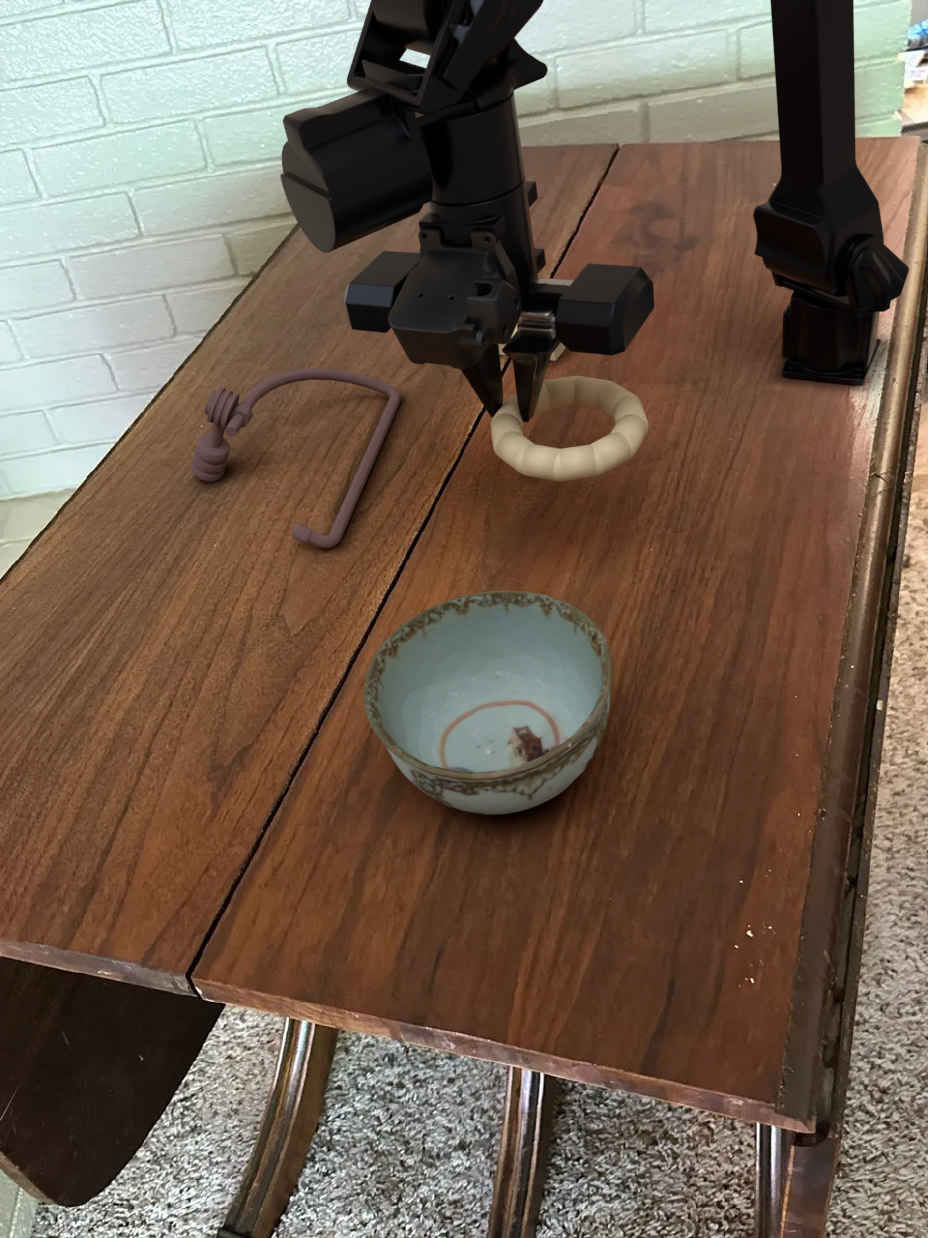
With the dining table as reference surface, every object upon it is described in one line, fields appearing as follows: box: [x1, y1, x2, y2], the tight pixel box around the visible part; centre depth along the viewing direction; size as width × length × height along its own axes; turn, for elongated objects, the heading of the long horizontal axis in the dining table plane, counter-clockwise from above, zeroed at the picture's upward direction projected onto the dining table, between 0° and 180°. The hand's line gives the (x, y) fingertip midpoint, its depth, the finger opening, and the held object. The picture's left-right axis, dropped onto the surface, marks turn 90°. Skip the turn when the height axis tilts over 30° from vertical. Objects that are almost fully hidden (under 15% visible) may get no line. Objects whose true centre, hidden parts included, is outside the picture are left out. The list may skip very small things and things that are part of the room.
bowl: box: [362, 590, 613, 815], centre depth 60 cm, size 14×13×8 cm
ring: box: [490, 375, 650, 482], centre depth 70 cm, size 10×10×2 cm
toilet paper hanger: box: [190, 367, 402, 549], centre depth 88 cm, size 22×8×14 cm
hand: (512, 416), depth 72 cm, fingers closed on ring, 2 cm apart
